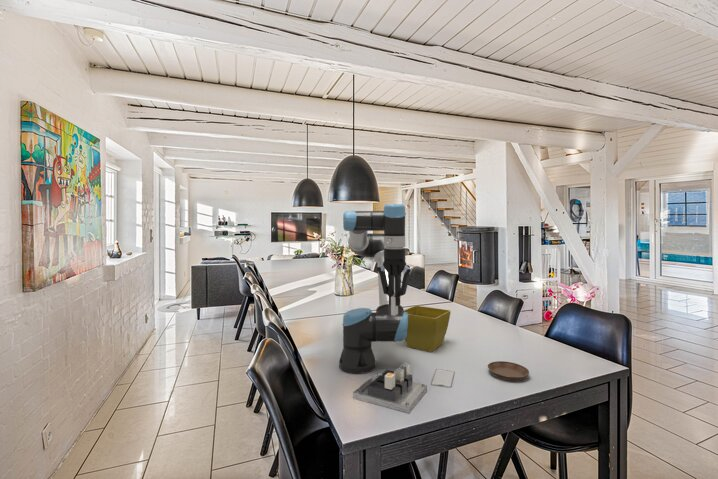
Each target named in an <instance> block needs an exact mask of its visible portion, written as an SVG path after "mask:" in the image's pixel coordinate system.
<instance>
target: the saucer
mask: <svg viewBox="0 0 718 479" xmlns="http://www.w3.org/2000/svg"><path fill="white" fill-rule="evenodd" d="M487 369H488V370H489V371H490V373H491V374H492V375H493V376H495V377H496V378H499V379H501V380H504V381H507V382H518V381H519V382H520V381H522V380H524V379H526V378H527V376H528V375H529V374H530V371H529V369H528V368H526V367H525V366H523V365H521V364H518V363H516V362H510V361H503V360H502V361H501V360H500V361H499V360H497V361H492V362H490V363H488V364H487Z"/></svg>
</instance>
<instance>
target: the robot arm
mask: <svg viewBox="0 0 718 479" xmlns="http://www.w3.org/2000/svg"><path fill="white" fill-rule="evenodd" d="M406 215H407V214H406V207H405V204H402V203H390V204H389V203H388V204H385V205H384V206H383V210H348V211H344V213H343V215H342V216H343V217H342V218H343V219H342V221H343V222H342V223H343V231H347V232H349V236H348V240H347V245H348V248H349V250H351V251H352V252H353V254H356V255H357V256H360V257H362V258H373V260H374V262H375V263H376V264H377V268H376V270H377V278H378V279H377V280H378V281H377V282H378V284H377V285H378V298H379V299H378V302H379V305H378V307H377V308H376V310H375V312H373V311H372V309H371V308H369V307H358V308H354V309H350V310H347V311H346V312H344V314H343V316H342V317H343V318H342V328H343V329H342V335H343V336H342V337H343V338H342V340H343V341H342V350H341V353H340V356H339V357H340V358H339V360H338V368H339V369H340V370H341V371H342V372H344V373H349V374H356V375H357V374H366V373H367V374H368V373H370V372H372V371H374V370H375V369H376V367H377V362H376V357H375V354H374V351H373V348H372V347H373V346H372V343H373V342H377V343H378V342H381V343H383V342H385V343H387V342H388V343H391V342H393V343H396V342H403V341H405V339H406V336H407V328H408V313H407V312H404V310H405V309H404V307H403V306H402V305H401V296H404V295H406V293H407V289H408V285H409V280H410V276H411V274H412V272H413V270H414V269H413V268H411V267H409V266H407V263H406V249H405V247H406ZM371 231H372V232H374V231H375V232H379V231H380V232H382V231H383V233H368V232H371ZM403 271H404V275H403V278H402V274H403ZM401 278H402V279H401Z"/></svg>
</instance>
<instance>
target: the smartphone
mask: <svg viewBox="0 0 718 479" xmlns="http://www.w3.org/2000/svg"><path fill="white" fill-rule="evenodd" d="M454 377H455V371H454V370H448V369H440V368H437V369H435V371H434V373H433V376H432V379H431V383H430V385H431V386H435V387H440V388H447V389H448V388H449V389H451V388H452V387H453V383H454Z"/></svg>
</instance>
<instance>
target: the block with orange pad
mask: <svg viewBox="0 0 718 479" xmlns="http://www.w3.org/2000/svg"><path fill="white" fill-rule="evenodd" d="M394 387H395V374H392V373H388V374H386V375H385V388H386V389H390V390H392V389H393V388H394Z"/></svg>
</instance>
